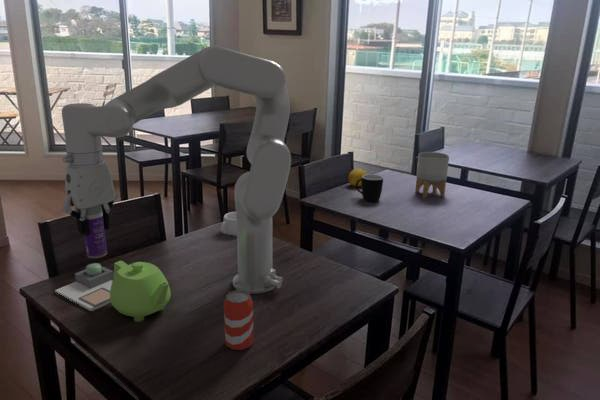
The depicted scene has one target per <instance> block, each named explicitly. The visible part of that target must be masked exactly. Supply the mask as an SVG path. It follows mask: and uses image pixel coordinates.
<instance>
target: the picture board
mask: <svg viewBox="0 0 600 400" xmlns="http://www.w3.org/2000/svg"><path fill="white" fill-rule="evenodd" d="M101 271H102V273H101V274H99V275H96V276H94V277H90V276H87V273H86V268H84V269H83V270H81V271H78V272H75V273H74V277H75V281H74V282H72V283H69V284H67V285H65V286H62V287H59V288H57V289H55V290H54V293H55V292H57V293H58V294H57V293H56V294H57V295H59V294H60V295H62V296H64V297H65V298H64V297H63V298H64V299H66V298H67V299H66V300H68V299H69V300H68V301H70V302H72V301H73V302H72V303H74V302H75V303H74V304H76V303H77V304H76V305H78V304H79V305H78V306H80V307H82V308H84V309H86V310H88V311H90V312H91V311H92V312H95V310H98V309H101V308H102V307H104V306H107V305H108V304H111V301H110V289H111V285H112V282H113V279H114V270H111V269H109V268H107V267H104V266H103V265H101ZM60 295H59V296H60ZM62 296H61V297H62Z"/></svg>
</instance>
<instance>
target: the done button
mask: <svg viewBox="0 0 600 400" xmlns="http://www.w3.org/2000/svg"><path fill="white" fill-rule="evenodd" d="M101 266H102V265H101V263H97V262H93V263H89V264H87V265H86V266H85V269H86V273H87V276H90V277H94V276H96V275H99V274H101V273H102V271H101Z"/></svg>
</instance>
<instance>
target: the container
mask: <svg viewBox="0 0 600 400" xmlns="http://www.w3.org/2000/svg"><path fill="white" fill-rule="evenodd" d="M85 219H86V220H88V227H89V235H88V236H85V235H83V237H84V245H85V252H86V256H87V258H90V259H100V258H103V257H106V255H107V254H108V249H107V247H108V246H107V239H106V229H104V220H103V212H102V205H99V206H95V207H92V208H88V209H86V215H85Z"/></svg>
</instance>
